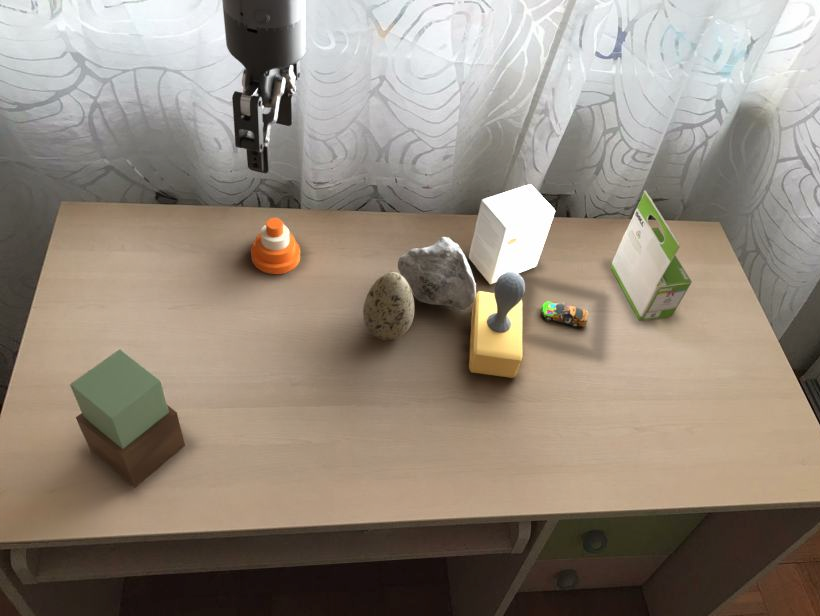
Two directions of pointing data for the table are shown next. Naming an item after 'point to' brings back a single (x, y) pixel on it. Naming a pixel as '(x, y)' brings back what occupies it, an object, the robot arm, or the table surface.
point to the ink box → (650, 265)
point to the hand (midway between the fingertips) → (271, 145)
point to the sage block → (120, 398)
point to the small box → (510, 232)
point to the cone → (275, 248)
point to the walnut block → (136, 447)
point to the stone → (439, 274)
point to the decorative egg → (389, 307)
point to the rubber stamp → (498, 328)
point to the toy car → (564, 314)
